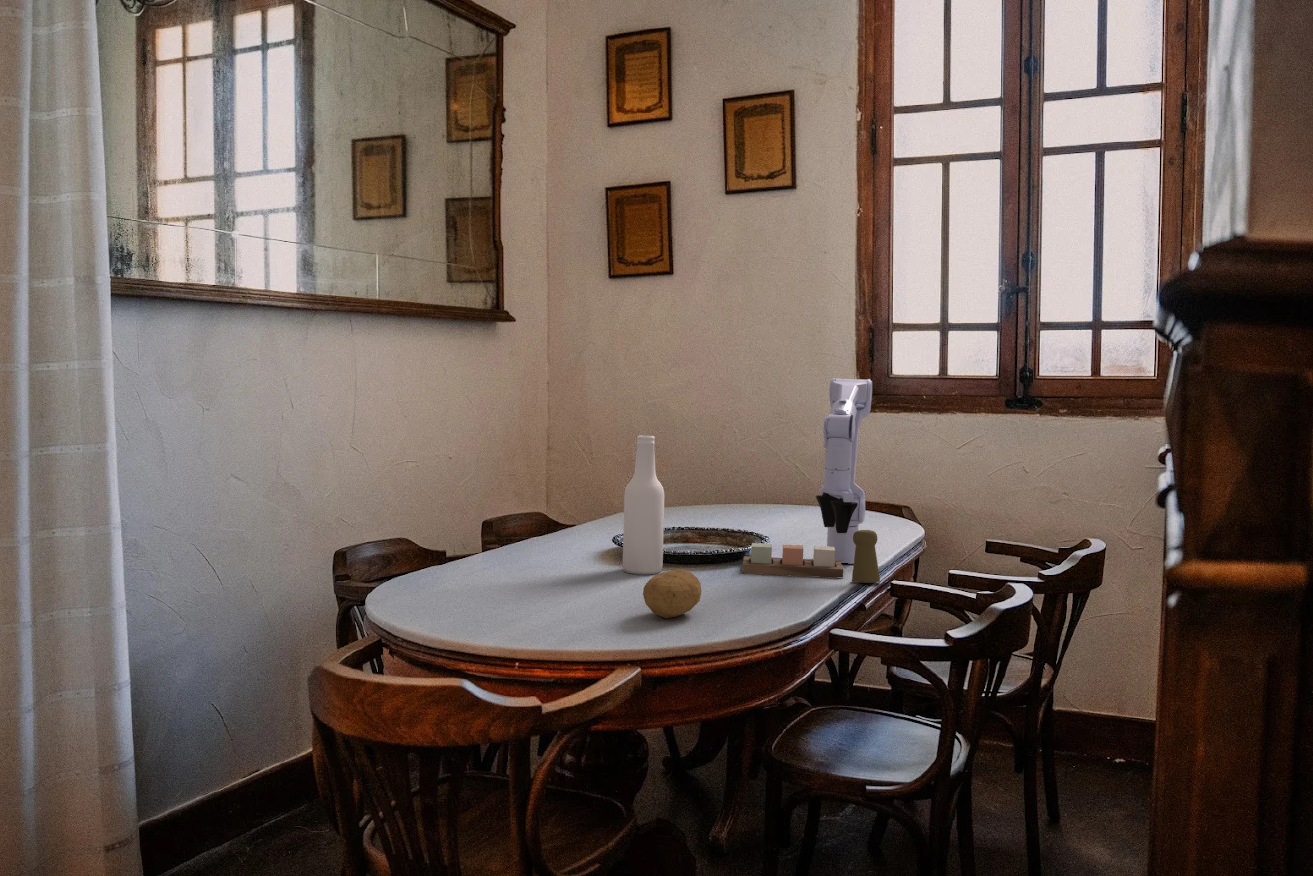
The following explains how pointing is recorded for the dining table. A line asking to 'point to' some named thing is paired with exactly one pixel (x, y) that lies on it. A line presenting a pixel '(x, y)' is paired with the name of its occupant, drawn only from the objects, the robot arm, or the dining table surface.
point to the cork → (865, 557)
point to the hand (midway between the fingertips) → (835, 530)
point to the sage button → (761, 553)
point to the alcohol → (643, 514)
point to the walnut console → (792, 568)
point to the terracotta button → (792, 555)
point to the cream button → (824, 556)
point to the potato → (672, 593)
